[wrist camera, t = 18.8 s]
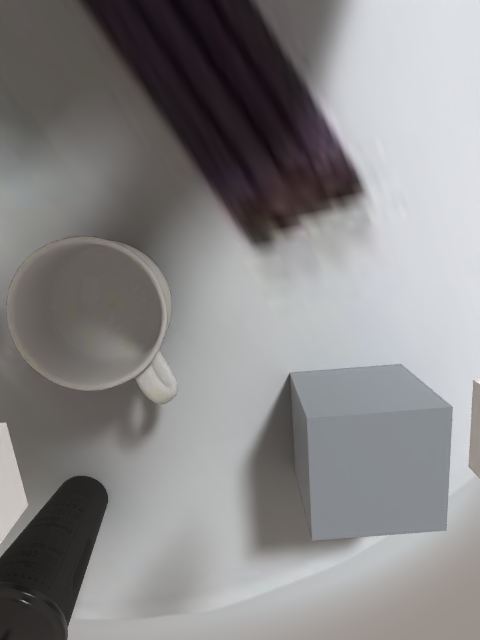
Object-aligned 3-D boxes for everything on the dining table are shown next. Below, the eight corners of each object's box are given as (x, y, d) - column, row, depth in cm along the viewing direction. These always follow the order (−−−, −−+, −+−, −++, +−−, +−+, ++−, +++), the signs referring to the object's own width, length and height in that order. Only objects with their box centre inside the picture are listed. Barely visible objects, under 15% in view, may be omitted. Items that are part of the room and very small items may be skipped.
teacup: (31, 269, 34) (-29, 283, 26) (142, 211, 33) (114, 206, 25) (115, 404, 37) (83, 451, 29) (219, 353, 36) (215, 389, 28)
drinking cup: (76, 447, 38) (-92, 683, 18) (138, 494, 39) (43, 761, 20) (28, 499, 39) (-177, 771, 20) (90, 543, 40) (-44, 839, 21)
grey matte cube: (289, 372, 36) (307, 418, 28) (401, 364, 36) (452, 406, 28) (294, 471, 39) (312, 540, 30) (399, 462, 39) (446, 530, 30)
